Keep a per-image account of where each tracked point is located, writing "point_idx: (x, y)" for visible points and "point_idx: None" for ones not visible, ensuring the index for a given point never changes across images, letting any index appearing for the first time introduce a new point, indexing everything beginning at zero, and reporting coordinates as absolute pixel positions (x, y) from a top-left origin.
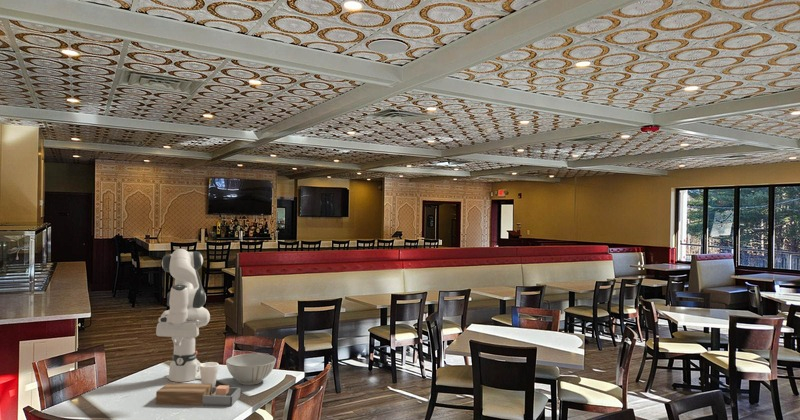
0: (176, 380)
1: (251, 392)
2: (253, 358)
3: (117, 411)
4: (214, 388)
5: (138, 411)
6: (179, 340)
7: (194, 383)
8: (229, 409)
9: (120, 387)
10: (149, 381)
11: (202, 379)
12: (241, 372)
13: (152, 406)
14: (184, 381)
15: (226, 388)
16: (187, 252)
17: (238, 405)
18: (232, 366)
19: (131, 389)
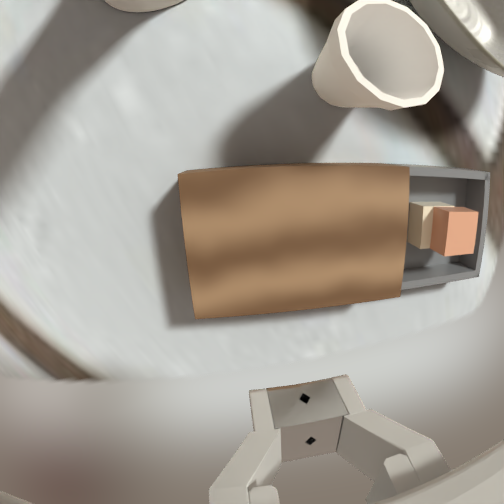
0: (142, 8)
1: (484, 126)
2: None
3: (119, 367)
4: (411, 175)
5: (183, 362)
6: (366, 475)
7: (327, 169)
8: (456, 291)
9: None
10: (36, 44)
11: (340, 97)
12: (490, 71)
13: None
14: (180, 1)
15: (473, 245)
16: None
17: None
18: (475, 46)
19: (17, 150)
